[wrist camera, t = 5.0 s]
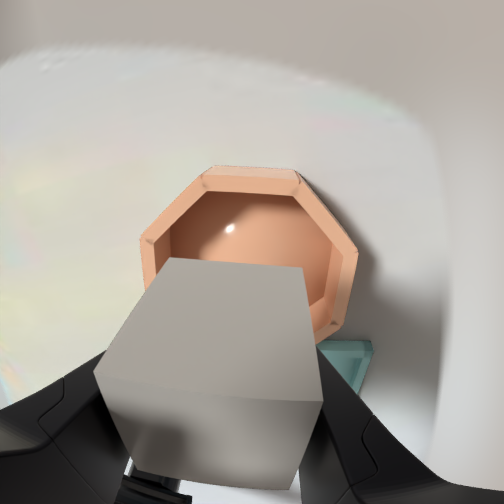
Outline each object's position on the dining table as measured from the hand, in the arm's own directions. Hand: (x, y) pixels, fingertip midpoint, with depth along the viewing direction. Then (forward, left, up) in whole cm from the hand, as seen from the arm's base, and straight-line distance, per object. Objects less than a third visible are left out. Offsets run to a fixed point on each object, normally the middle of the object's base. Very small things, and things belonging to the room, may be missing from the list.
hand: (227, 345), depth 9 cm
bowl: (-2, 0, -11) cm, 11 cm away
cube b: (0, 0, -1) cm, 1 cm away
